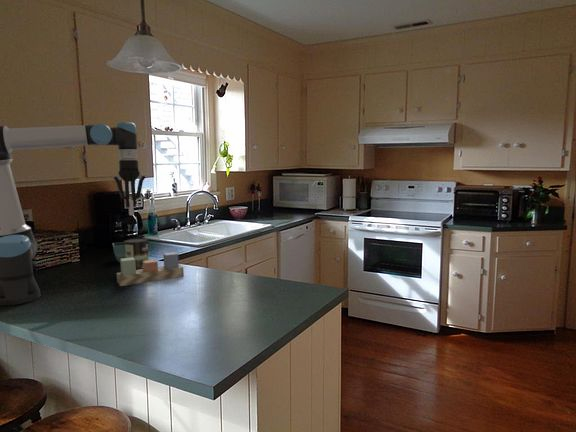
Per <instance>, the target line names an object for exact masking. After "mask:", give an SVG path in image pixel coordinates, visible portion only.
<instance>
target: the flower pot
mask: <svg viewBox="0 0 576 432" xmlns="http://www.w3.org/2000/svg"><path fill="white" fill-rule="evenodd" d="M112 248H113V255H114V257H115V259H116V261H117V262H118V263H120V259H123V258H126V254H125V243H124V241H123V242H112Z"/></svg>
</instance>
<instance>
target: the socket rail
mask: <svg viewBox="0 0 576 432" xmlns="http://www.w3.org/2000/svg"><path fill="white" fill-rule="evenodd" d="M184 275H185V274H184V267H183V266H182V265H180V264H179V268H172V269H166V268H164V265H163V266H158V271H152V272H144V271H143V269H141V270H136V274H132V275H125V276H123V275H122V274H121V271H120V272H116V282H117V284H118V285H119V287H124V286H129V285H130V286H131V285H136V284H137V285H138V284H143V283H144V284H145V283H149V282H155V281H161V280H162V281H163V280H167V279H168V280H169V279H174V278H182V277H184Z"/></svg>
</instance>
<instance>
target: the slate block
mask: <svg viewBox="0 0 576 432" xmlns="http://www.w3.org/2000/svg"><path fill="white" fill-rule="evenodd" d="M162 254H163V266H164V268H166V269H172V268H179V265H180V263H179V254H178V252H176V251H172V252H164V253H162Z"/></svg>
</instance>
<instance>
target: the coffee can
mask: <svg viewBox="0 0 576 432" xmlns="http://www.w3.org/2000/svg"><path fill="white" fill-rule="evenodd" d="M148 241H149V239H148V238H130V239H127V240H126V239H125V240H124V241H123V242H124V243H125V254H126V258H131V257H133V258H134V259H135V264H136V270H141V269H143V261H146V260H150V259H149V242H148Z"/></svg>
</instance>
